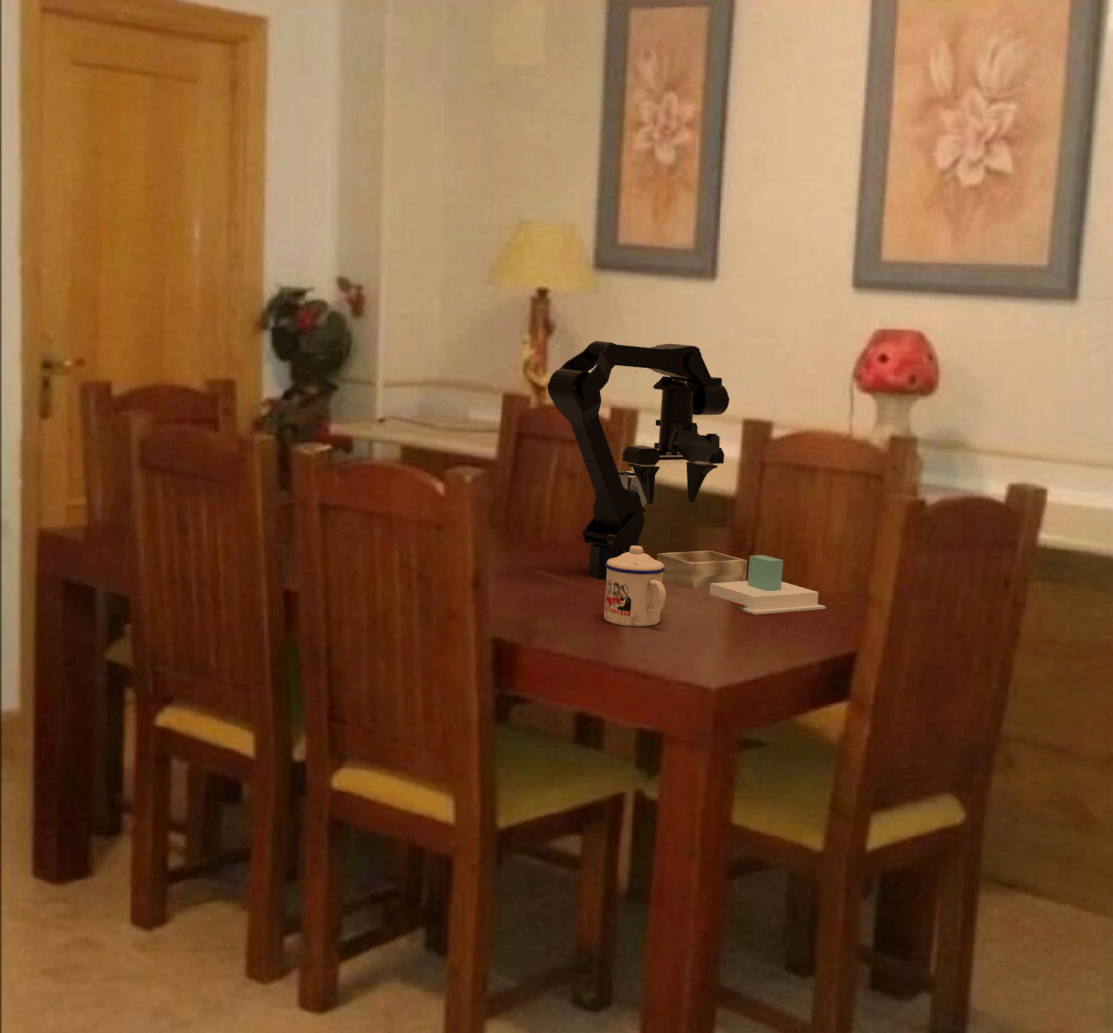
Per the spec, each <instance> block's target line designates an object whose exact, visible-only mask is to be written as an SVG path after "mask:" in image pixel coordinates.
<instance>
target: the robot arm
mask: <svg viewBox="0 0 1113 1033" xmlns="http://www.w3.org/2000/svg"><path fill="white" fill-rule="evenodd" d="M615 366H619V367H620V366H621V367H630V368H631V367H632V368H639V369H640V368H641V369H642V368H643V369H648V370H651V371H653V372H654V373H657V374H660V375H663V376H661V377H660V379H659V380H658V381H657V382H656V383H654V384H653V386H652V388H653V390H658V391H661V402H660V403H661V404H660V405H661V406H660V418H659V419H656V420H655V426H658V427H659V432H658V442H654V443H653V445H654V446H653V447H651V446H645V445H626V447H625V448H624V449H623V451H622V462H625V463H627V465H628V467H631V468H632V471H634V472H635V474H636V476H637V478H638V480H639V482H640V485H641V487H642V490H643V493H644V495H645V498H646V503H647V504H648V505H652V504H653V502H654V498H655V497H654V496H655V483H656V475H657V473H658V472H659V470H660V466H658V465H657V464H658V463H659V461H678V460H679V461H686V462H685V463H686V481H687V482H686V486H687V489H686V490H687V497H688V502H689V503H693V504H694V502H696V499H697V496H698V493H699V492H700V489H701V487H702V484H703V483H704V481H705V478H706V477H707V475H709V473H710V472H712V471H713V470H714V469H718V467H719V466H718V465H721V464H724V463H725V453H724V450H723V448H722V447H720V445H721V442H720V441H721V440H720V436H719V435H718V434H717V433H706V434H700V433H699V432H698V429H699V427H698V423H697V422H694V421H693V420H694V416H718V415H722V414H724V413H725V412H726V411H727V409H728V407H729V404H730V396H729V394H728V393H729V392H728V390H727V389H726V387H725V386H724V385H723V378H722V377H716V376H711V374H710V371H709V370H708V367H707V365H706V363H705V361H704V359H703V355H702V352H701V349H700V348H699V347H698V346H696V345H695V346H694V345H687V344H678V343H664V344H657V345H655V346H651V347H647V346H646V347H644V346H635V345H628V344H627V345H626V344H625V345H624V344H618V343H614V342H610V341H601V340H595V341H593V342H591V343H589V344H588V345H587V346H586V348H584V349H583V351H581V352H580V353H578V354H576V355H575V356H573V357H572V358H570V359H568V360H567V361H565V363H563V365H562V366H561V367H560V368H559V369H557V370H555V371H554V372H553V373H552V375H551V376H550V379H549V382H548V383H547V393H548V395H549V397H550V399H551V401H552V403H553V405H554V406H555V408H556V409H557V411H558V412H559V413H560V414H561V415H562V417H564V418H565V419H566V421H567V422H569V424H570V426H571V428H572V432H573V433H574V434H573V435H574V437H575V440H576V443H577V446H578V448H579V451H580V455H581V457H582V460H583V461H584V462H583V463H584V465H585V468H586V470H587V472H588V476H589V479H590V481H591V486H592V487H593V490H594V492H595V497H594V501H593V506H592V511H593V518H591V520H590V521H589V523H588V524H587V525H586V526H585V527H584V528H583V529H582V538H583V541H584V543H586V544H590V545H589V546H590V547H589V557H588V558H589V559H588V562H589V563H588V575H587V576H588V577H591V578H593V579H596V580H606V576H607V568H606V564H607V561H608V560H609V559H611V558H615V557H618V556H620V555H622V554H623V553H626V552H629V550H630V547H631V546H638V543H639V541H640V537H641V534H642V531H643V528H644V525H645V524H646V518H645V514H644V513H645V512H647V511H646V508H644V506H642V504H641V499H640V495H639V493H638V492H637V491H632V490H627V489H625V488H624V486H623V484H622V482H621V479H620V476H619V473H618V471H619V470H618V468H617V464H616V462H615V459H614V456H613V454H612V450H611V448H610V445H609V441H608V439H607V436H606V434H605V433H606V432H605V431H604V427H603V424H602V421H601V419H600V415H599V413H600V407H601V404H602V394H601V390H602V389H603V388H604V387H605V386H606V385H607V384H608V383H609V379H610V376H611V373H612V369H613V368H614V367H615ZM590 371H591V372H590Z"/></svg>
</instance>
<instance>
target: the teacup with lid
mask: <svg viewBox="0 0 1113 1033" xmlns="http://www.w3.org/2000/svg"><path fill="white" fill-rule="evenodd" d="M643 550H644V549H643V547H642V546H640V545H637V546H631V547H630V552H626V553H623V554H622V555H620V556H618V557H615V558H611V559H609V560H608V561H607V564H606V568H607V576H606V579H605V580H606V581H605V592H604V593H605V596H604V609H603V619H604V620H605V621H607V622H608V623H611V624H614V625H619V626H625V627H626V626H627V627H651V626H654V625H657V624H658V623H660V620H661V610H662V609H663V607H664V605H665V604H666V600H667V599H666V598H667V592H666V588H665V585H664V584H663V580H662V579H663V571H664V570H665V568H664V565H663V563H661V562H659V561H657V559H654V558H653V557H651V556H650V554H648V553H645V552H643Z"/></svg>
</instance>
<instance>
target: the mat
mask: <svg viewBox="0 0 1113 1033" xmlns="http://www.w3.org/2000/svg"><path fill="white" fill-rule="evenodd" d="M742 606H743V605H741V606H732V608H734V609H736V610H740V611H743V612H746V613H749V614H753V615H767V614H778V613H780V614H781V613H789V612H790V613H792V612H801V611H802V612H803V611H804V612H805V611H813V610H815V611H816V610H826V606H825V605H822V604H819V603H817V605H813V606H801V607H789V608H776V609H764V610H751V609H748V608H745V607H742Z"/></svg>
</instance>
